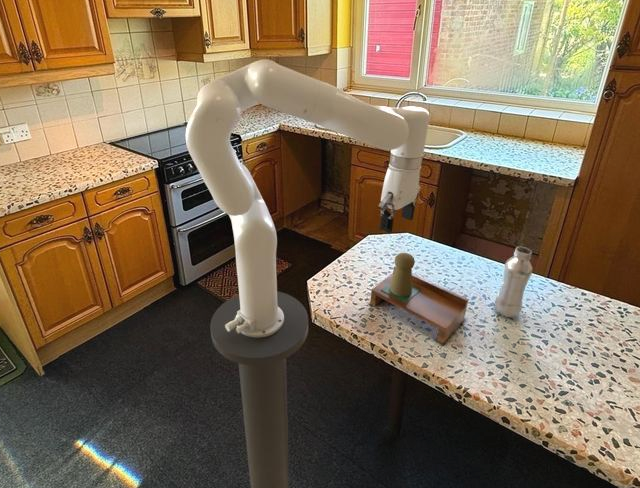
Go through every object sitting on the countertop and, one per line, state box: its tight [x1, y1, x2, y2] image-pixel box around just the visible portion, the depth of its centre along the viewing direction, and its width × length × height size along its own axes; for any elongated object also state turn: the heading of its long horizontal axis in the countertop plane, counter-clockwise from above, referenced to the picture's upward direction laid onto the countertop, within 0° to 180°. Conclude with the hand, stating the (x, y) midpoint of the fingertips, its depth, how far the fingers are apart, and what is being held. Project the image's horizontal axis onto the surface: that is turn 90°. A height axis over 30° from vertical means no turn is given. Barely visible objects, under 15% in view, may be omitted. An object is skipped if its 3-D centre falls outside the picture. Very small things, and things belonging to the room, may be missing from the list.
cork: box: [390, 252, 416, 296], centre depth 107 cm, size 6×6×11 cm
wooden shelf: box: [369, 265, 470, 345], centre depth 108 cm, size 12×22×7 cm, turn 46°
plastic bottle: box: [494, 246, 533, 318], centre depth 105 cm, size 6×7×20 cm
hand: (396, 224), depth 102 cm, fingers open, 9 cm apart
